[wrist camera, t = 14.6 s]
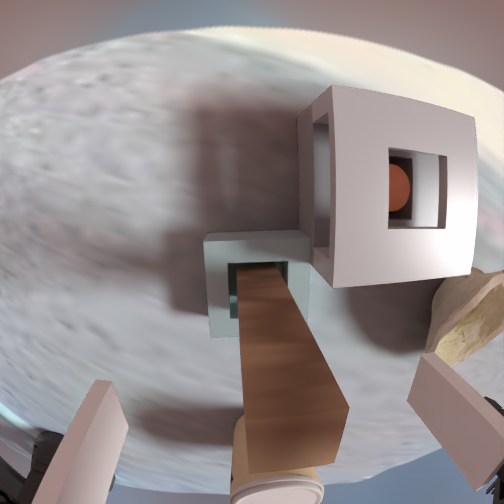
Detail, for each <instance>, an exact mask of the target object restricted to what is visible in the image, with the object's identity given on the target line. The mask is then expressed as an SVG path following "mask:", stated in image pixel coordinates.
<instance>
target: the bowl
mask: <svg viewBox="0 0 504 504" xmlns="http://www.w3.org/2000/svg"><path fill="white" fill-rule="evenodd" d="M503 330H504V270H502V271H499V272H494V273H488V274H485V273H483V272H482V271H481V270H479V269H477V268H474V267H471V273H470V274H468V275H460V276H452V277H447V278H446V279H445V280H444V282H443V283H442V284H441V286H440V287H439V288H438V290H437V291H436V293H435V295H434V298H433V301H432V316H431V324H430V329H429V335H428V338H427V343H426V347H425V351H426V352H425V354H427V353H431V352H434V353H435V354H436V355H437V356H439V357H440V358H441V359H442V360H443V361H444V362H445V363H446V364H448V365H449V366H450V367H452V366H454V365H455V364H457V363H458V362H461V361H463V360H464V359H465V358H466V357H468V356H469V355H471V354H473V353H475V352H476V351H478V350H479V349H481V348H482V347H484V346H485V345H486V344H487V343H488V342H489V341H490V340H492V339H493V338H495V337H496V336H497V335H499V334H500V333H501V332H502V331H503Z"/></svg>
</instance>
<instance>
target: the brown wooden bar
mask: <svg viewBox="0 0 504 504" xmlns="http://www.w3.org/2000/svg"><path fill="white" fill-rule="evenodd" d="M236 279H237V302H238V321H239V338H240V355H241V372H242V387H243V402H244V417H245V431H246V444H247V457H248V470H249V474H253V473H267V472H278V471H287V470H295V469H302V468H308V467H315V466H320V465H326V464H331V463H334V461H335V458H336V455H337V452H338V448H339V445H340V441H341V438H342V434H343V431H344V427H345V423H346V419H347V415H348V411H349V406H348V404H347V402H346V400H345V398H344V396H343V394H342V392H341V390H340V388H339V386H338V384H337V382H336V380H335V378H334V376H333V374H332V372H331V370H330V368H329V366H328V364H327V362H326V360H325V358H324V356H323V354H322V352H321V350H320V348H319V346H318V345H317V343H316V341H315V339H314V337H313V335H312V333H311V331H310V329H309V327H308V325H307V323H306V321H305V319H304V317H303V316H302V314H301V312H300V310H299V308H298V306H297V304H296V302H295V300H294V298H293V296H292V294H291V293H290V291H289V289H288V287H287V285H286V283H285V281H284V279H283V277H282V275H281V274H280V272H279V270H278V268H277V266H276V264H275V262H274V261H272V262H247V263H236Z"/></svg>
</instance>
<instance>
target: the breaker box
mask: <svg viewBox="0 0 504 504" xmlns="http://www.w3.org/2000/svg"><path fill="white" fill-rule="evenodd" d="M297 133H298V170H299V230H300V231H301V232H303V233H304V234H306V235H307V236H308V237H310V264H311V265H312V266H313V267H314V269H315V270H316V271H317V272H318V273H319V274H320V275H321V276H322V277H323V278H324V279H325V280H326V281H327V282H328V284H329V285H330V286H331V287H332V288H341V287H354V286H366V285H377V284H388V283H398V282H408V281H417V280H426V279H435V278H444V277H452V276H460V275H468V274H470V273H471V267H472V260H473V252H474V244H475V235H476V223H477V207H478V153H477V137H476V126H475V118H474V117H472V116H469V115H466V114H463V113H460V112H457V111H454V110H450V109H447V108H444V107H440V106H437V105H433V104H430V103H426V102H422V101H418V100H414V99H410V98H406V97H401V96H397V95H392V94H387V93H382V92H376V91H371V90H365V89H358V88H352V87H345V86H337V85H331V86H330V87H329V88H328V89H327V90H326V91H325V92H323V93H322V94H321V95H320V96H319V97H318V98H317V99H316V100H315V101H314V102H313V103H312V104H311V105H310V106H309V107H308V108H307V109H305V110H304V111H303V112H302V113H301V114H300V115H299V116H298V117H297ZM389 164H394V165H397V166H399V167H400V168H401V169H402V170H403V171H404V172H405V173H406V175H407V177H408V179H409V183H410V194H409V198H408V200H407V202H406V204H405V205H404V206H403V207H402V208H401V209H399V210H397V211H389Z"/></svg>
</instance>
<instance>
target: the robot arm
mask: <svg viewBox="0 0 504 504" xmlns="http://www.w3.org/2000/svg"><path fill="white" fill-rule="evenodd" d="M407 401H408V403H409V404H410V405H411V407H412V408H413V409H414V410H415V412H416V413H417V414H418V416H419V417H420V418H421V420H422V421H423V422H424V423H425V425H426V426H427V427H428V429H429V430H430V431H431V433H432V434H433V435H434V437H435V438H436V439H437V440H438V442H439V443H440V444H441V446H442V447H443V448H444V450H445V451H446V452H447V454H448V455H449V456H450V458H451V459H452V460H453V462H454V463H455V465H456V466H457V467H458V469H459V470H460V471H461V472H462V474H463V475H464V477H465V478H466V480H467V481H468V482H469V484H470V485H471V486H472V488H473V489H474V491H477V490H479V489H480V488H482V487H483V486H485V485H486V484H488V483H489V481H490V480H491V479H492V478H493V477H494V476H495V474H496V475H497V476H498V478H497V479H496V480H495V481H494V482H493V484H492V485H491V486H490V487H489V488H488V489H487V492H486V494H488V493H489V492H490V491H491V490H492V489H493V488H494V487H495V489H494V490H493V491H492V493H491V494H494V498H493V504H504V409H502V407H501V406H500V405H499V404H498V403H497V402H496V401H494V400H492V399H490V398H488V397H484V398H483V397H482V396H481V395H480V394H479V393H478V392H477V391H476V390H475V389H474V388H473V387H472V386H471V385H469V384H468V383H467V382H466V381H465V380H464V379H463V378H462V377H461V376H460V375H459V374H457V373H456V372H455V371H454V370H453V369H452V368H451V367H450V366H449V365H448V364H446V363H445V362H444V361H443V360H442V359H441V358H440V357H439V356H437V355H436V354H435V353H434V352H431V353H427V354H424V355H421V357H420V361H419V364H418V368H417V371H416V374H415V378H414V381H413V384H412V387H411V390H410V393H409V396H408V399H407ZM128 428H129V426H128V424H127V421H126V419H125V416H124V414H123V411H122V408H121V406H120V403H119V400H118V397H117V394H116V392H115V389H114V386H113V383H112V381H106V380H95V382H94V383H93V385H92V387H91V389H90V390H89V392H88V394H87V395H86V397H85V399H84V401H83V403H82V404H81V406H80V408H79V410H78V411H77V413H76V415H75V417H74V419H73V421H72V422H71V424H70V426H69V428H68V430H67V432H66V434H65V435H64V436H63V435H60V434H57V433H52V432H43V433H41V434H39V436H38V437H37V439H36V441H35V442H34V445H33V454H32V461H31V471H30V473H29V474H28V477H27V478H26V479H25V478H24V477H23V476H22V475H21V474H20V473H18V472H17V471H16V470H15V469H14V468H13V467H12V466H10V465H9V464H8V463H7V462H6V461H5V460H4V459H3V458H2V457H1V456H0V504H105V503H106V499H107V495H108V493H109V492H110V491H111V489H112V488H113V485H114V481H115V474H114V472H115V469H116V465H117V462H118V459H119V456H120V453H121V449H122V446H123V443H124V440H125V437H126V434H127V431H128Z"/></svg>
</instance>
